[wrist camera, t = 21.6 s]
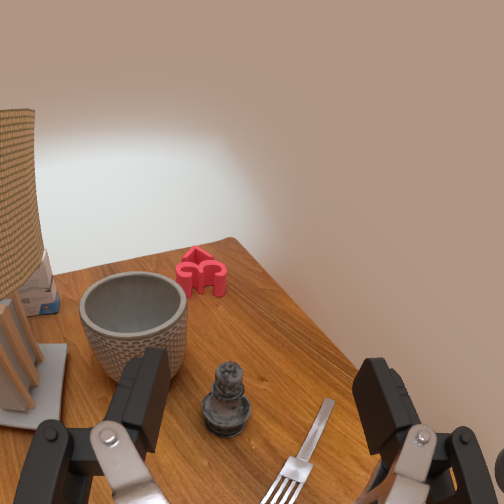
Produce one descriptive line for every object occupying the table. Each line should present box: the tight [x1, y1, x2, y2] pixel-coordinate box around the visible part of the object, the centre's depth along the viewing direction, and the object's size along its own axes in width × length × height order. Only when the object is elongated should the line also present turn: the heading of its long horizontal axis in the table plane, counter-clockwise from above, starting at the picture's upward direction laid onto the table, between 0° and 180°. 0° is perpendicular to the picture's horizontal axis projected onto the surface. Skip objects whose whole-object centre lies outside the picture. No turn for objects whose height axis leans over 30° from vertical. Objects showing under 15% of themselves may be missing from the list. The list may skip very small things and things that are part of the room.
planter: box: [79, 271, 188, 383], centre depth 34 cm, size 14×14×13 cm
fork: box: [260, 398, 335, 504], centre depth 27 cm, size 19×3×1 cm, turn 151°
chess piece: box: [202, 361, 251, 438], centre depth 29 cm, size 6×6×12 cm
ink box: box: [17, 249, 59, 316], centre depth 41 cm, size 9×5×12 cm, turn 116°
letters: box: [176, 246, 227, 299], centre depth 61 cm, size 14×10×5 cm
